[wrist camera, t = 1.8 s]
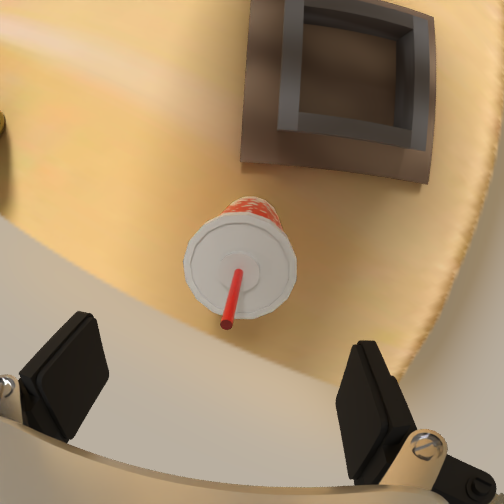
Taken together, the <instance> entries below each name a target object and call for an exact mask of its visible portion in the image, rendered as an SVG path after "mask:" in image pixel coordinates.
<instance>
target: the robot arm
mask: <svg viewBox="0 0 504 504" xmlns="http://www.w3.org/2000/svg"><path fill="white" fill-rule="evenodd" d="M19 375H20V377H21V378H20V379H19V380H17V379H16V377H14V376H12V375H8V374H7V375H0V504H504V494H503V493H500V494H499V495H498V494H497V493H496V483H495V481H494V479H493V478H492V476H491V475H489V474H488V473H486V472H484V471H482V470H480V469H477V468H475V467H473V466H471V465H468V464H467V463H464V462H462V461H460V460H458V459H456V458H454V457H452V456H450V455H448V454H447V450H448V447H447V443H446V441H445V439H444V438H443V437H442V436H441V435H440V434H439V433H437V432H435V431H433V430H429V429H420V430H417V427H416V425H415V423H414V420H413V418H412V415H411V413H410V410H409V408H408V405H407V403H406V401H405V399H404V396H403V394H402V392H401V389H400V387H399V385H398V382H397V380H396V378H395V377H394V376H391V375H390V373H389V370H388V368H387V366H386V364H385V361H384V359H383V357H382V355H381V353H380V350H379V348H378V346H377V344H376V342H375V341H358V343H357V345H353V346H352V349H351V352H350V356H349V359H348V362H347V366H346V369H345V372H344V375H343V379H342V382H341V385H340V388H339V391H338V394H337V397H336V409H337V415H338V420H339V425H340V430H341V436H342V442H343V447H344V453H345V458H346V465H347V470H348V476H349V479H354V485H355V486H337V487H264V486H249V485H238V484H228V483H220V482H212V481H205V480H199V479H192V478H186V477H181V476H176V475H171V474H166V473H162V472H157V471H153V470H149V469H145V468H140V467H137V466H133V465H129V464H126V463H122V462H119V461H116V460H112V459H109V458H106V457H103V456H100V455H97V454H94V453H91V452H88V451H85V450H83V449H80V448H77V447H74V446H72V445H69V444H67V443H68V441H69V439H70V440H71V439H73V438H74V436H75V435H76V433H77V431H78V429H79V427H80V426H81V424H82V422H83V421H84V419H85V417H86V415H87V414H88V412H89V410H90V409H91V407H92V405H93V404H94V402H95V400H96V399H97V397H98V395H99V394H100V392H101V390H102V389H103V387H104V385H105V384H106V382H107V380H108V378H109V370H108V366H107V363H106V359H105V354H104V351H103V346H102V342H101V338H100V333H99V329H98V324H97V320H96V319H95V318H94V317H93V315H92V314H91V313H86V312H81V311H78V312H76V313H75V314H74V315H73V316H72V317H71V318H70V319H69V320H68V321H67V322H66V323H65V324H64V325H63V326H62V327H61V328H60V329H59V330H58V331H57V332H56V333H55V334H54V335H53V336H52V337H51V338H50V340H49V341H48V342H47V343H46V344H45V345H44V346H43V347H42V348H41V349H40V350H39V351H38V352H37V353H36V354H35V356H34V357H33V358H32V359H31V360H30V361H29V362H28V363H27V364H26V366H25V367H24V368H23V369H22V370H21V371H20V372H19Z"/></svg>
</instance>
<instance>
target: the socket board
mask: <svg viewBox="0 0 504 504" xmlns="http://www.w3.org/2000/svg"><path fill="white" fill-rule="evenodd" d="M435 106H436V45H435V28H434V17H432V16H429V15H426V14H423V13H421V12H418V11H415V10H412V9H408V8H405V7H402V6H399V5H395V4H392V3H388V2H385V1H381V0H251V7H250V20H249V33H248V46H247V60H246V75H245V90H244V105H243V121H242V138H241V155H240V162H252V163H266V164H279V165H291V166H301V167H311V168H321V169H329V170H338V171H346V172H353V173H361V174H368V175H374V176H381V177H387V178H393V179H399V180H405V181H411V182H416V183H422V184H427V185H428V181H429V173H430V165H431V157H432V148H433V137H434V124H435Z"/></svg>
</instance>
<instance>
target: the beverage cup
mask: <svg viewBox="0 0 504 504" xmlns="http://www.w3.org/2000/svg"><path fill="white" fill-rule="evenodd" d="M183 265H184V272H185V279H186V283H187V284H188V286H189V288H190V289H191V291H192V293H193V294H194V296H195V298H196V299H197V300H198V301H199V302H201V303H202V304H203V305H204V306H206V307H207V308H208V309H209V310H211V311H212V312H214V313H217V314H219V315H222V319H221V323H220V326H221V327H222V328H223V329H225V330H229V329H231V328H232V325H233V321H234V319H254V318H257V317H260V316H263V315H265V314H268V313H271V312H273V311H274V310H275V309H277V308H278V307H279V306H280V305H281V304H282V303H283V302H284V301H286V300H287V299H288V297H289V295H290V293H291V291H292V289H293V287H294V284H295V282H296V280H297V258H296V255H295V252H294V250H293V248H292V246H291V243H290V241H289V239H288V237H287V235H286V234H285V233H284V232H283V229H282V226H281V223H280V220H279V217H278V215H277V213H276V211H275V208H274V207H273V206H272V205H270V204H269V203H268V202H267V201H266V200H264V199H261V198H258V197H256V196H250V197H242V198H240V199H237V200H235V201H233V202H232V203H231V204H230V205H229V206H228V207H227V208H226V209H225V210H224V211H223V212H222V213H221V214H220V215H219V216H218V217H215V218H213V219H211V220H209V221H207V222H206V223H205V224H204V225H203V226H202V227H201V228H200V229H199V230H198V231H197V233H196V234H195V235H194V236H193V237H192V238H191V239H190V241H189V242H188V246H187V249H186V253H185V256H184V260H183Z"/></svg>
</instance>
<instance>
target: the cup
mask: <svg viewBox="0 0 504 504" xmlns="http://www.w3.org/2000/svg"><path fill="white" fill-rule="evenodd" d="M4 124H5V119H4V115H3V113H2V112H1V111H0V136H1V134H2V132H3V129H4Z"/></svg>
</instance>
